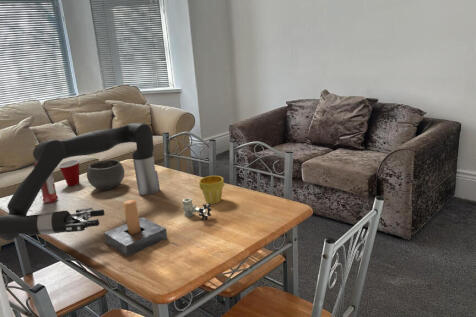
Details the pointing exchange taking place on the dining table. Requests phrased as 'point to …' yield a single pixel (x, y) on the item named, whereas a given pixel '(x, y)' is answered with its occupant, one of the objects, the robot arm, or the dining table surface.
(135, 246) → the socket block
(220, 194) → the plant pot
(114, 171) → the bowl
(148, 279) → the dining table surface
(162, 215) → the dining table surface
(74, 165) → the plastic cup
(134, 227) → the peg
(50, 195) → the sauce bottle
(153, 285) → the dining table surface
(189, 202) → the valve
